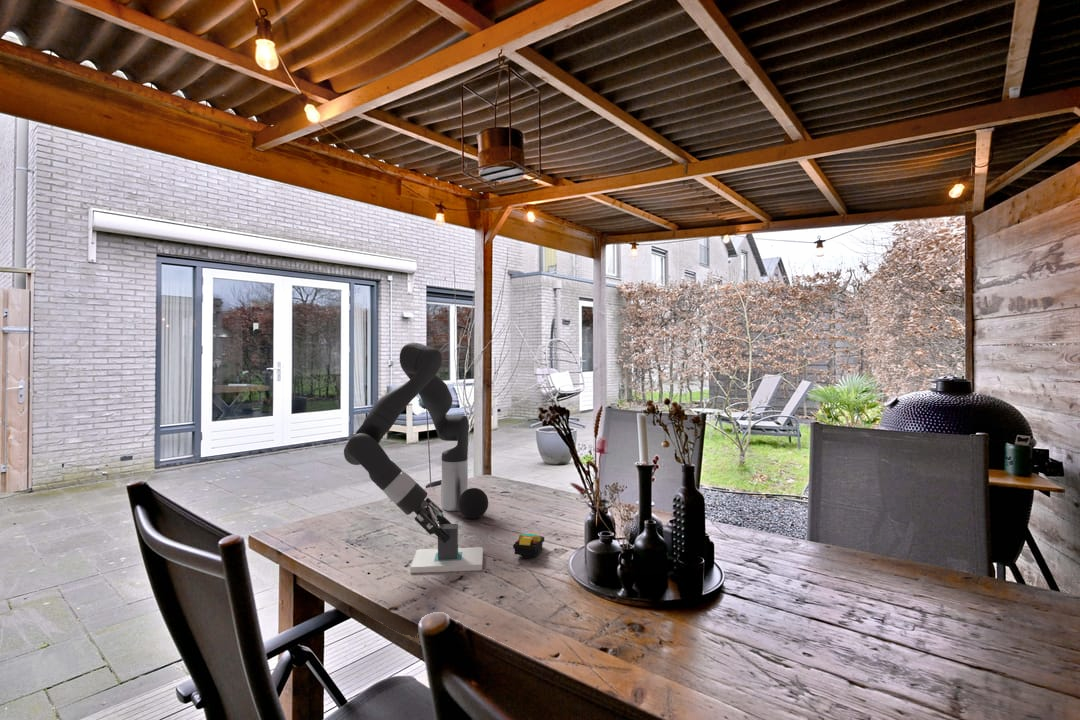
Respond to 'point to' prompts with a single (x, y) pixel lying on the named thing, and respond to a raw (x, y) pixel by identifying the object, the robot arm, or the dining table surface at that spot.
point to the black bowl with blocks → (528, 545)
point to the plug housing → (449, 543)
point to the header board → (447, 561)
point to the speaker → (473, 503)
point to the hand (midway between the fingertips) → (449, 534)
